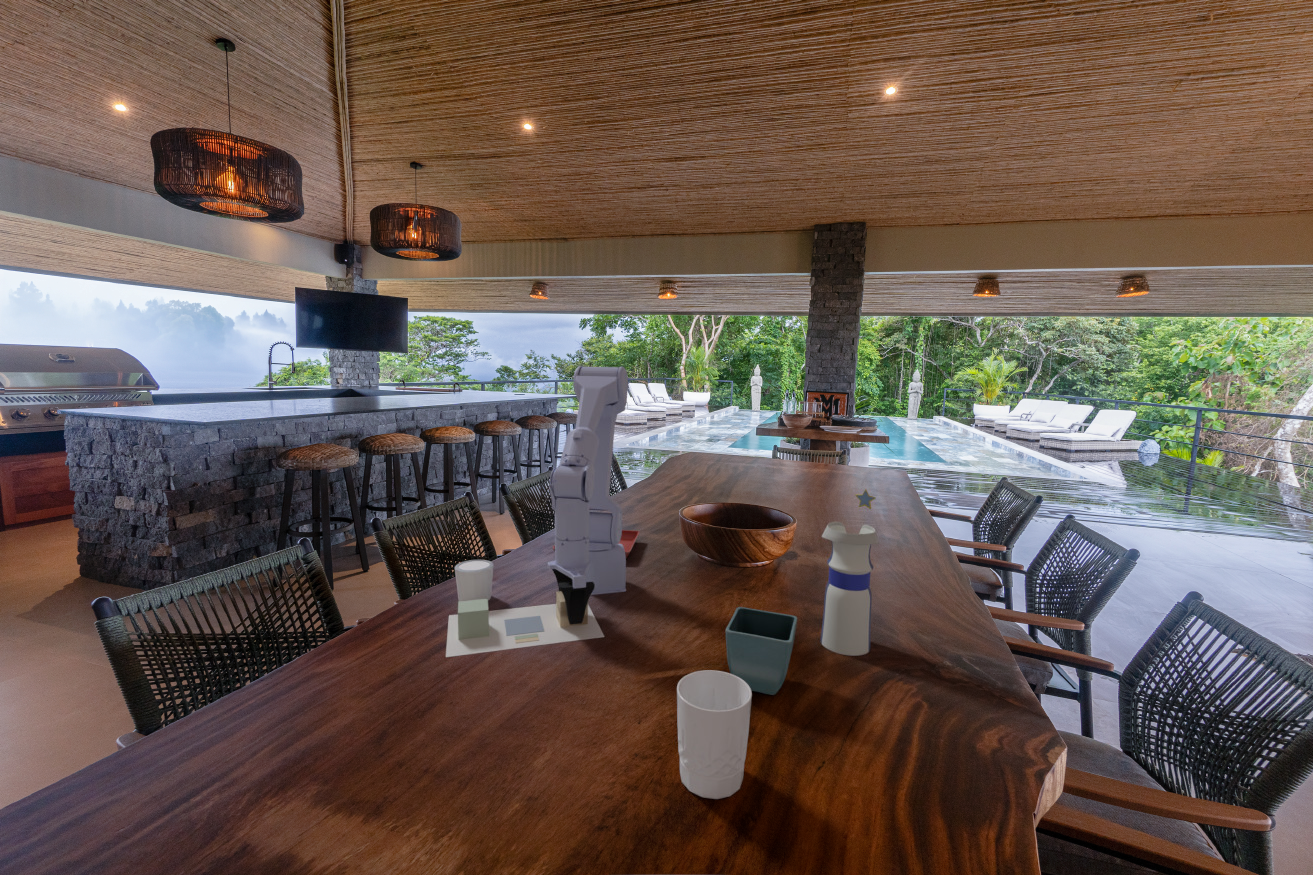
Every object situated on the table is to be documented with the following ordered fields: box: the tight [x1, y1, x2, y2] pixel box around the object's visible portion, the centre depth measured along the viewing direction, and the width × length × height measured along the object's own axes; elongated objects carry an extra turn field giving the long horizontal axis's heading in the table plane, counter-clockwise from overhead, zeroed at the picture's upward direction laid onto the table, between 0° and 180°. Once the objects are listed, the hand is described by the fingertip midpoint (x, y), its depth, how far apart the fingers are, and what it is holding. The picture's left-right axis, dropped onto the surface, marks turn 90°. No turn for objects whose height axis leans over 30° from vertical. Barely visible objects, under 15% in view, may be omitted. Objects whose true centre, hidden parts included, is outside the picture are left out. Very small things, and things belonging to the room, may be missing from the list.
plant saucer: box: [552, 529, 641, 558], centre depth 137 cm, size 18×18×3 cm
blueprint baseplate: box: [445, 603, 605, 658], centre depth 95 cm, size 24×15×1 cm, turn 108°
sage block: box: [457, 599, 490, 640], centre depth 92 cm, size 5×5×4 cm
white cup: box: [676, 669, 753, 800], centre depth 61 cm, size 8×8×10 cm
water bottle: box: [820, 488, 880, 657], centre depth 91 cm, size 8×9×25 cm
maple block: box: [555, 590, 589, 627], centre depth 97 cm, size 5×5×4 cm
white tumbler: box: [454, 559, 495, 602], centre depth 105 cm, size 7×7×7 cm
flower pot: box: [725, 606, 798, 696], centre depth 79 cm, size 9×9×9 cm
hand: (571, 613), depth 97 cm, fingers open, 7 cm apart
